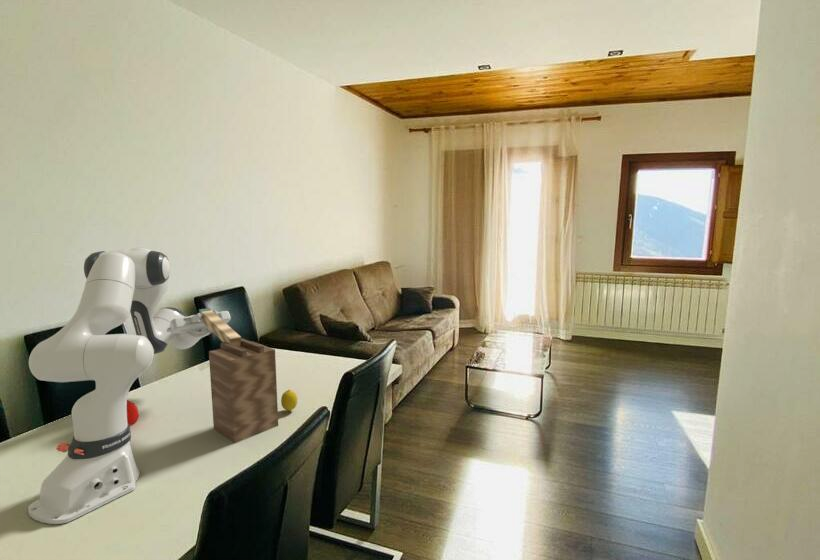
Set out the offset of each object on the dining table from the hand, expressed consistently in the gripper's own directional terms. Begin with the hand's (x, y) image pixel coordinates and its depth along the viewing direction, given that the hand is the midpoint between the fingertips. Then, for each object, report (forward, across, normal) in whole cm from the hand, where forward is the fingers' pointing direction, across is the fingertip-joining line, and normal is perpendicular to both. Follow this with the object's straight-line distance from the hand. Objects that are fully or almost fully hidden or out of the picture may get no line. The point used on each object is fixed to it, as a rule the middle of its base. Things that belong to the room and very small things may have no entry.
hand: (208, 313), depth 151 cm
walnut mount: (+3, 0, +42) cm, 42 cm away
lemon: (+4, +16, +42) cm, 45 cm away
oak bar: (+4, 0, +8) cm, 9 cm away
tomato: (-23, -29, +27) cm, 46 cm away
